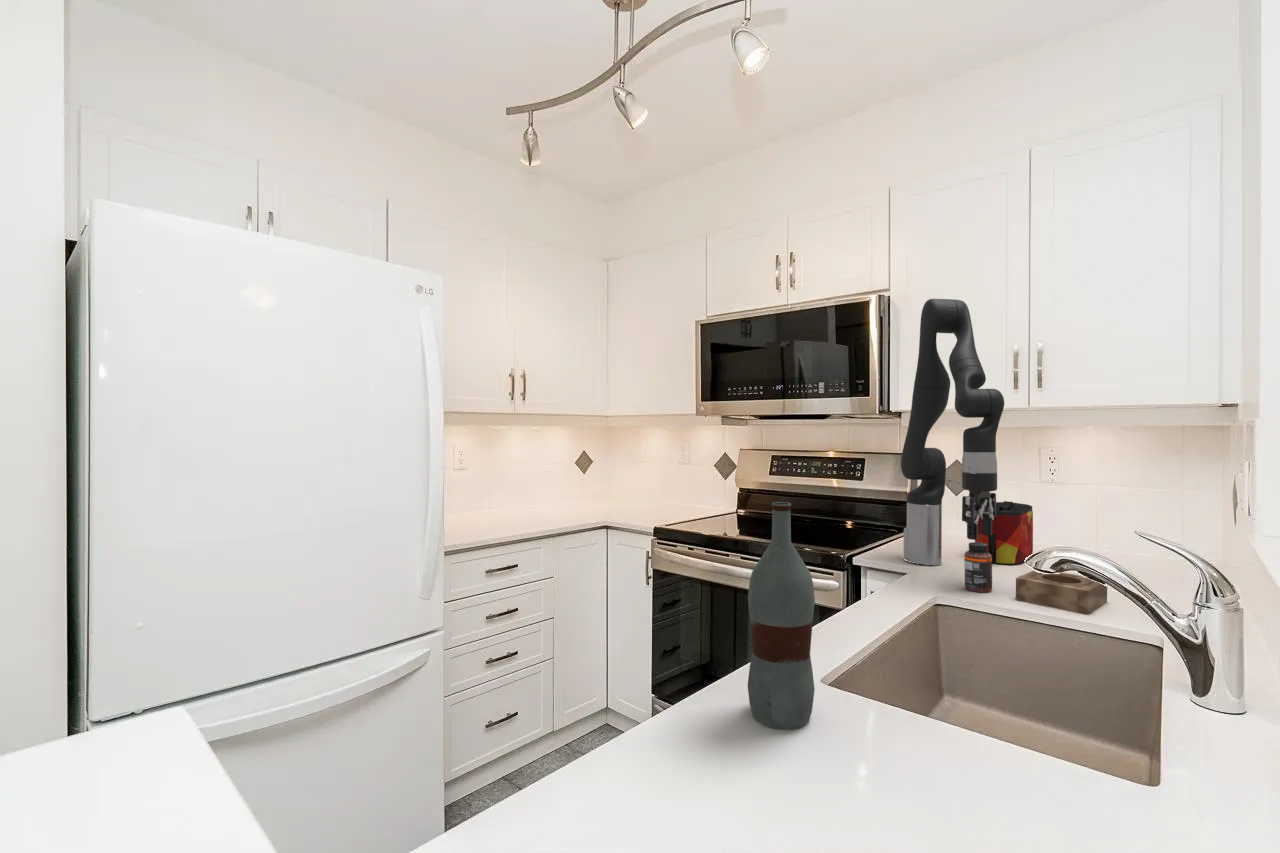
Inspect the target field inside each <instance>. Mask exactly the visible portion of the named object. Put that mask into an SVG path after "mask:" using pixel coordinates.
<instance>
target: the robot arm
mask: <svg viewBox="0 0 1280 853" xmlns="http://www.w3.org/2000/svg"><path fill="white" fill-rule="evenodd" d="M919 326H920V327H919V343H918V344H919V345H918V357H917V364H916V365H917V366H916V371H915V376H914V382H913V391H912V397H911V398H912V400H911V408H910V416H909V421H908V426H907V430H906V436H905V439H904V443H903V448H902V452H901V458H900V468H901V473H902V475H903V476H904V477H905V478H906V479H908V480H910V481H912V480H913V481H915V480H916V481H919V480H920V481H921V482H920V484H919V485H918V486H917V487H916V488H914V489H913V490H911V491H909V492H907V494H906V527H904V528H903V560H904V559H906V560H908V561H911V562H915V563H918V564H925V565H924V566H929V565H933V566H941V565H942V546H943V545H942V540H943V539H942V538H943V537H942V535H943V532H942V531H943V529H942V528H943V527H942V525H943V524H942V520H943V518H942V517H943V514H942V512H943V504H942V503H943V497H944V495H945V490H946V489H945V488H946V487H945V486H946V475H947V462H946V457H945V455H944V453H943V452H942V450H941V449H939V448H937V447H926V443H927V439H928V436H929V433H930V431H931V430H932V428H933V427H934V425H935V423H936V422H937V421H938V420H939V419H940V417H941V416H942V415H943V413H944V411H945V410H946V408H947V406H948V403H949V396H950V391H951V378H950V375H949V373H948V370H947V368H946V367H945V365H944V363H943V362H942V360H941V357H940V355H939V352H938V346H937V334H953V335H954V336H955V338H956V342H955V345H954V347H953V348H952V351H951V353H950V355H949V358H948V367H949V371H950V373H951V376H952V380H953V382H954V390H955V391H954V392H955V395H954V409H955V411H956V412H957V413H958V415H959V416H961V417H963V418H968V419H969V418H971V419H972V418H973V419H974V418H975V419H978V418H983V419H982V420H981V422H980V424H979V425H978V426H973V427H969V428H966V429H964V430H963V434H962V458H961V459H962V460H961V474H962V475H961V488H962V490H965V491H968V495H965V496H964V495H962V498H961V500H962V502H961V521H962V522H964V523H965V524H966V538H967V539H968V540H973V541H975V540H977V539H978V524H977V523H978V520H979V517H981V518H982V519H984V520H982V534H983V535H988V536H990V535H992V520H993V519H994V517H996V515H997V513H996V502H997V493H996V491H997V490H998V460H997V432H998V428H999V424H1000V421H1001V417H1002V416H1003V415H1002V414H1003V413H1004V412H1003V411H1004V409H1005V408H1004V407H1005V399H1004V398H1005V397H1004V395H1003V394H1002V392H1001V391H1000V390H998V389H996V388H982V387H983V386H984V385H985V383H986V380H987V377H986V373H985V370H984V368H983V366H982V363H981V361H980V358H979V355H978V353H977V352H978V351H977V348H976V343H975V338H974V337H975V336H974V331H973V324H972V318H971V313H970V309H969V307H968V305H967V303H966V302H965V301H963V300H960V299H952V298H951V299H950V298H929V299H927V300H926V301H925V302H924V303H923V306H922V310H921V315H920V325H919ZM918 564H917V565H918Z"/></svg>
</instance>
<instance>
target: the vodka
mask: <svg viewBox="0 0 1280 853" xmlns="http://www.w3.org/2000/svg"><path fill="white" fill-rule="evenodd" d="M771 506H772V509H771V511H772V512H771V513H772V516H771V517H772V521H771V542H770V543H769V545H767V547H766V549H765V551H764V553H763V554H762V556H761V557H760V559H759V560H758V562H757V563H756V565H755V566H754V568H753V569H752V572H751V575H750V578H749V585H748V593H747V603H748V611H749V612H748V613H749V624H750V637H751V650H752V651H751V657H750V663H749V671H748V679H747V693H748V694H747V695H748V702H749V706H750V710H751V714H752V717H753V719H754V720H755V721H756V722H757V723H759V724H761V725H763V726H765V727H769V728H772V729H776V730H786V731H787V730H789V731H790V730H795V729H801V728H803V727H806V725H807V724H808V723H810V720H811V716H812V713H813V705H814V700H815V699H814V697H815V682H814V672H813V665H812V658H811V648H812V646H811V645H812V634H813V633H812V631H813V621H814V613H815V612H814V611H815V602H816V596H815V589H814V581H813V578H812V574H811V571H810V570H809V568H808V567H807V566H806V565H807V564H805V562H804V560H803V558H802V557H801V555H800V553H798V551H797V549H796V547H795V545H794V544H793V542H792V534H791V533H792V528H791V523H792V522H791V513H792V512H791V506H792V503H791V502H786V501H774V502H772V503H771Z"/></svg>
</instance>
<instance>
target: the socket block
mask: <svg viewBox="0 0 1280 853" xmlns="http://www.w3.org/2000/svg"><path fill="white" fill-rule="evenodd" d="M1083 576H1084V575H1079V574H1074V573H1067V572H1066V573H1065V572H1061V573H1060V574H1042V573H1037V572H1035V571H1033V570H1031V571H1029V572H1026V573H1024V574H1022V575H1020V576H1017V577H1015V600H1016V601H1020V602H1025V603H1030V604H1036V605H1041V606H1045V607H1050V608H1055V609H1059V610H1065V611H1069V612H1075V613H1080V614H1083V615H1089V614H1092V613H1093V612H1094V611H1096V610H1097V609H1098V608H1100V607H1102V606H1103V605H1104V604H1107V603H1108V586H1107V587H1106V586H1104V585H1102V584H1100V583H1098V582H1095V581H1092V580H1090V579H1088V578H1085V577H1083Z"/></svg>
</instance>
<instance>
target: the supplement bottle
mask: <svg viewBox="0 0 1280 853" xmlns="http://www.w3.org/2000/svg"><path fill="white" fill-rule="evenodd" d="M963 563H964V564H963V565H964V588H965V589H966V590H968V591H971V592H974V593H975V592H976V593H989V592H991V591H992V590H993V564H992V556H991V554H990V553H988V551H987V544H985V543H979V542H975V541H974V542H973V541H972V542H968V550H967V551H965V553H964V562H963Z"/></svg>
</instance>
